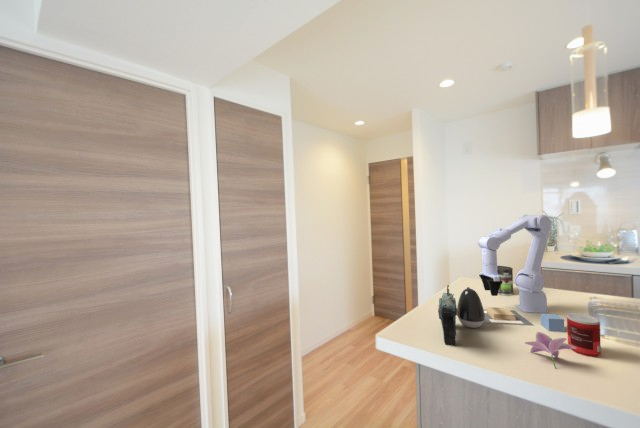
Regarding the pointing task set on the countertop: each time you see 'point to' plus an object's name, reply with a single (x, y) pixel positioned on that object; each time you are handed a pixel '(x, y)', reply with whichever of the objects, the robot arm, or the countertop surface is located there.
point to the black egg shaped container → (470, 309)
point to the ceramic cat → (448, 317)
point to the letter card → (518, 320)
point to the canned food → (584, 334)
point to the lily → (548, 345)
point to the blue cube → (552, 322)
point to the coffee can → (505, 280)
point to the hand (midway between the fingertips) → (490, 292)
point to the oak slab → (500, 314)
